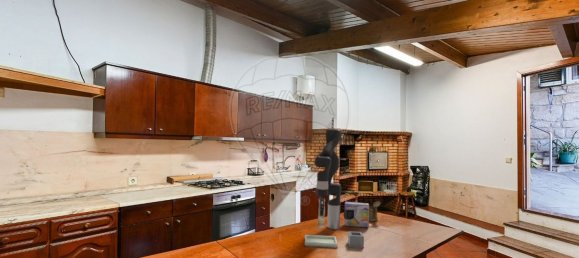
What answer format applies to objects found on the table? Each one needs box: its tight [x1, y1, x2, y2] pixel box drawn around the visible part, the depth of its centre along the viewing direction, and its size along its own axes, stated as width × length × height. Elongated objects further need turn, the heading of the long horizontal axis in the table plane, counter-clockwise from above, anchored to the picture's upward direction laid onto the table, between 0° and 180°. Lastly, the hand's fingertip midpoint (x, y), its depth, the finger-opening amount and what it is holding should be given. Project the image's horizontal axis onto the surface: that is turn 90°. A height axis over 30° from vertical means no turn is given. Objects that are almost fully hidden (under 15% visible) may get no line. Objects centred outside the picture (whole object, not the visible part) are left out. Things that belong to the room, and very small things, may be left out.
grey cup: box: [347, 230, 365, 249], centre depth 187 cm, size 9×9×7 cm
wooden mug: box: [369, 200, 381, 223], centre depth 245 cm, size 9×14×18 cm, turn 13°
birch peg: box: [317, 205, 326, 229], centre depth 189 cm, size 4×4×13 cm
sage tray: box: [304, 234, 338, 249], centre depth 188 cm, size 14×20×2 cm
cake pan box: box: [343, 201, 370, 228], centre depth 229 cm, size 19×5×18 cm, turn 73°
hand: (321, 214), depth 189 cm, fingers closed on birch peg, 4 cm apart
